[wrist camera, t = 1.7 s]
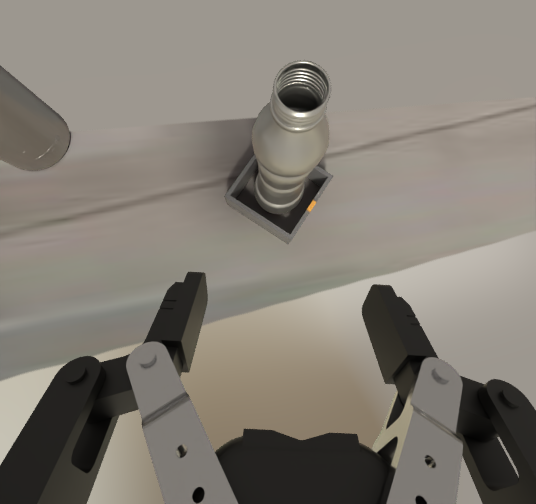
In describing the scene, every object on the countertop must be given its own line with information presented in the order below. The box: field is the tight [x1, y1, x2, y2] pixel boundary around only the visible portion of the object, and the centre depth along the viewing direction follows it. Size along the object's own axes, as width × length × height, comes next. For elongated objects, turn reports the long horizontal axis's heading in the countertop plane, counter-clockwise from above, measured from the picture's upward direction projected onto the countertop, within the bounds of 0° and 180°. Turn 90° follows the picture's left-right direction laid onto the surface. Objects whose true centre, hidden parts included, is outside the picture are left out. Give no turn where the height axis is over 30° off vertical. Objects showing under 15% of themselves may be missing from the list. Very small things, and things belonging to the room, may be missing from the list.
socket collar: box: [224, 154, 333, 244], centre depth 33 cm, size 10×10×4 cm
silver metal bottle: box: [252, 61, 331, 214], centre depth 25 cm, size 6×7×20 cm
